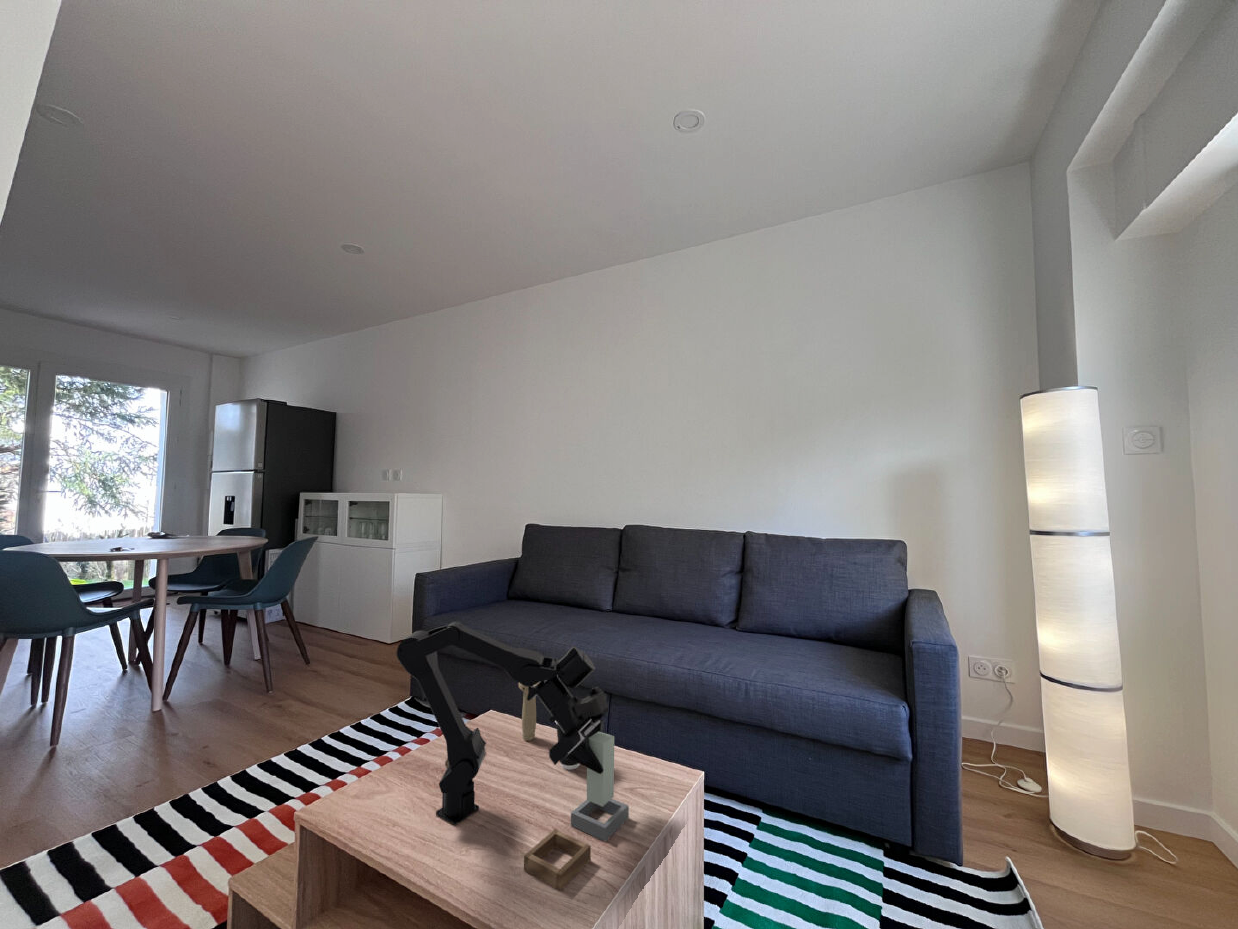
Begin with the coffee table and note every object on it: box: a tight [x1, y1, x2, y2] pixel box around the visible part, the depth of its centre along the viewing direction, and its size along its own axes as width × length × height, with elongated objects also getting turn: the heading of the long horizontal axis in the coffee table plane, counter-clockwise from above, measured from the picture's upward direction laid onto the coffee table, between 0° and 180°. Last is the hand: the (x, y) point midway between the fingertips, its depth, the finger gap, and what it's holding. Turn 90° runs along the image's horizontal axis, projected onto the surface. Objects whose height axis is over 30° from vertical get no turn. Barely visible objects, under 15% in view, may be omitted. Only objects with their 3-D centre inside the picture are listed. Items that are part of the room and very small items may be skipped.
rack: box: [523, 828, 592, 892], centre depth 88 cm, size 8×8×2 cm
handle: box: [518, 681, 540, 742], centre depth 136 cm, size 5×6×15 cm
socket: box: [570, 798, 630, 842], centre depth 100 cm, size 8×8×2 cm
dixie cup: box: [554, 721, 585, 770], centre depth 122 cm, size 8×8×11 cm
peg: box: [586, 732, 615, 807], centre depth 101 cm, size 4×4×12 cm
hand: (606, 766), depth 100 cm, fingers closed on peg, 5 cm apart
